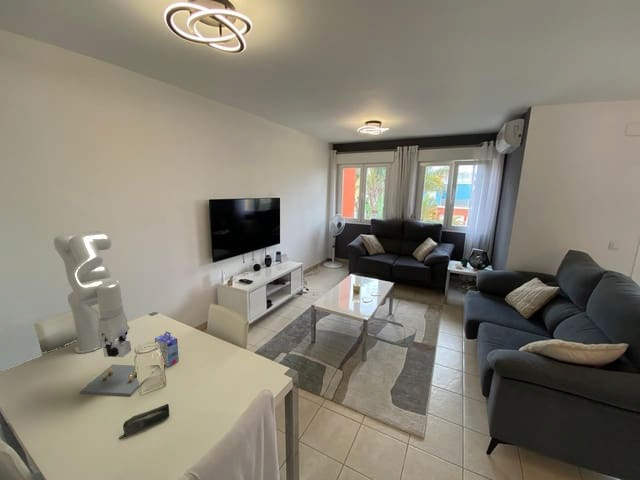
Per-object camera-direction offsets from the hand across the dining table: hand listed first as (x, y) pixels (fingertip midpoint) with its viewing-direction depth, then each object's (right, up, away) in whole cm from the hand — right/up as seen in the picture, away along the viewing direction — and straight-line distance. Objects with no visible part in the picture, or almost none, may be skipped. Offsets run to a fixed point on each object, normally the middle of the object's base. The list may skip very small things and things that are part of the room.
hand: (117, 351), depth 110 cm
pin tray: (-1, -14, +3) cm, 14 cm away
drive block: (0, -1, 0) cm, 1 cm away
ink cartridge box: (+12, -12, +16) cm, 23 cm away
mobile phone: (+24, -19, -17) cm, 35 cm away
